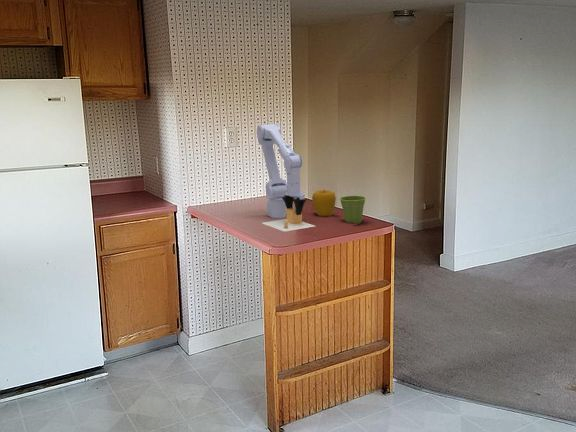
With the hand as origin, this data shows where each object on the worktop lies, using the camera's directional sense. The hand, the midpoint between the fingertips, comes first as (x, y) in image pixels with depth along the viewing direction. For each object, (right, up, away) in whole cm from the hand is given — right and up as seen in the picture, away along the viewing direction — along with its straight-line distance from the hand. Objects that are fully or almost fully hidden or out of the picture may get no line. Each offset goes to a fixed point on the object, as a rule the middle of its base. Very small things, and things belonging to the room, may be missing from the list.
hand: (294, 213), depth 255 cm
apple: (+14, -2, +15) cm, 21 cm away
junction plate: (-3, -6, -3) cm, 7 cm away
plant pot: (+26, -4, +2) cm, 26 cm away
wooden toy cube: (0, -4, +1) cm, 4 cm away
